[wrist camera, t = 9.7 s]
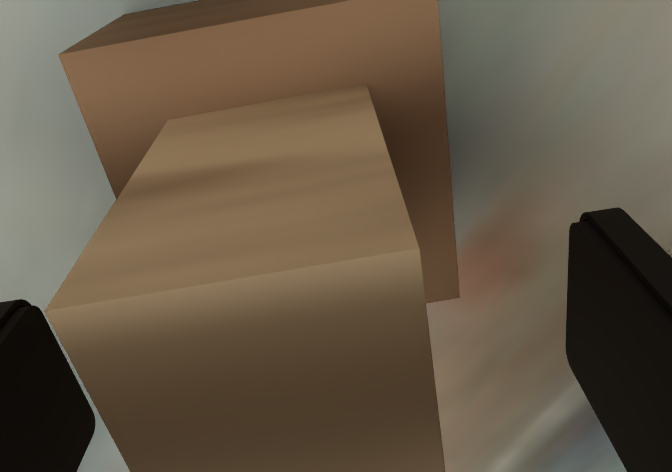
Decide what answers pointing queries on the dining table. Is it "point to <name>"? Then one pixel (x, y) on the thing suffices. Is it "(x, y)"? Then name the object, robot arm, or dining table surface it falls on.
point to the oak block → (259, 299)
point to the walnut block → (279, 87)
